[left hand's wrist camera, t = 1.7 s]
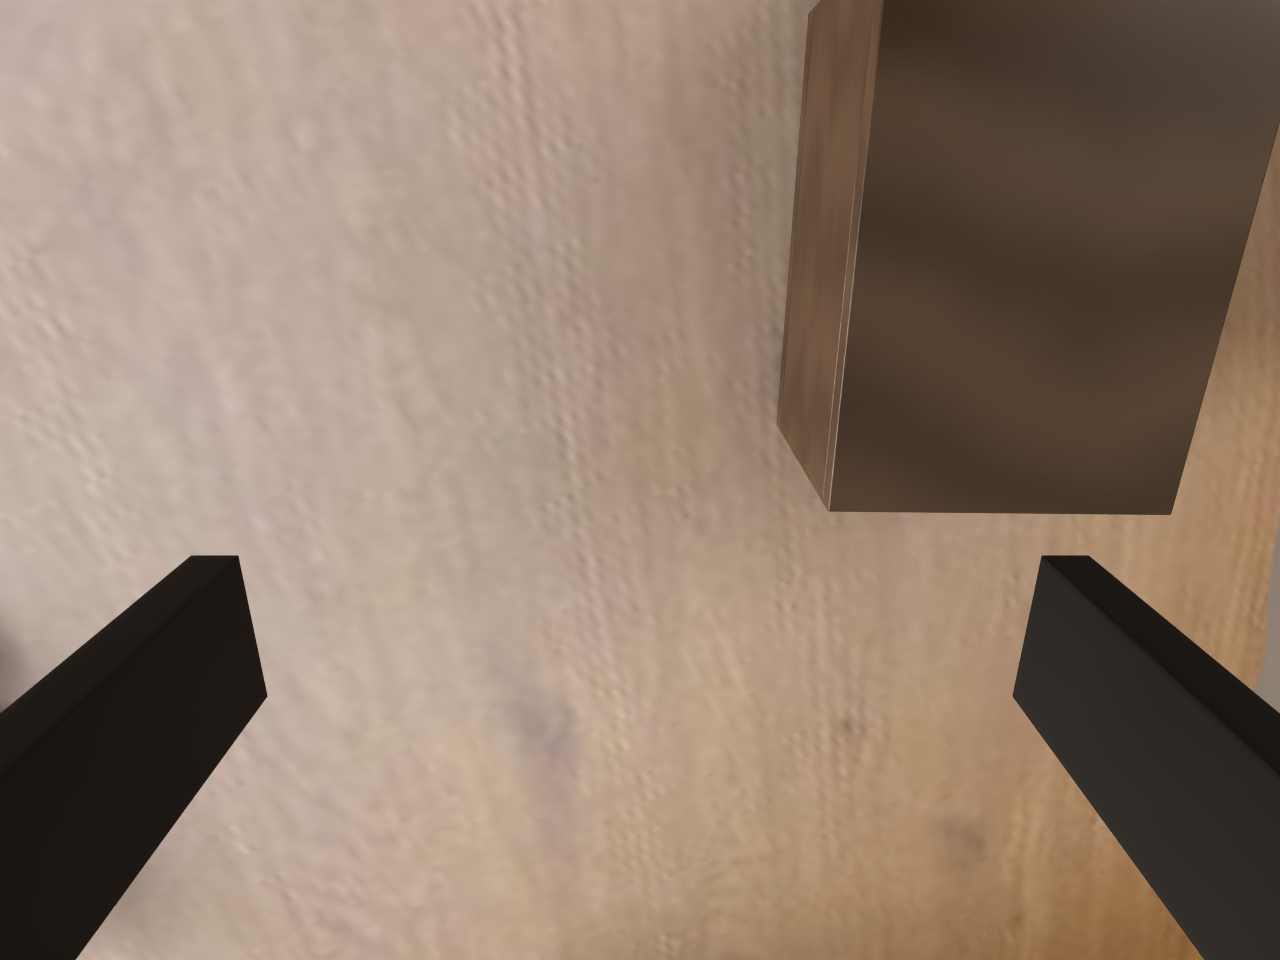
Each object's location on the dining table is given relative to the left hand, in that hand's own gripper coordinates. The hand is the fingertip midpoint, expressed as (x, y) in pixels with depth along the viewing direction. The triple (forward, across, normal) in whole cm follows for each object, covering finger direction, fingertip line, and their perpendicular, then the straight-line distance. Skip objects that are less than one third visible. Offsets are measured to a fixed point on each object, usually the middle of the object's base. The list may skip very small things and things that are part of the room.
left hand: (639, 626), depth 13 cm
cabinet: (+22, -12, -5) cm, 25 cm away
